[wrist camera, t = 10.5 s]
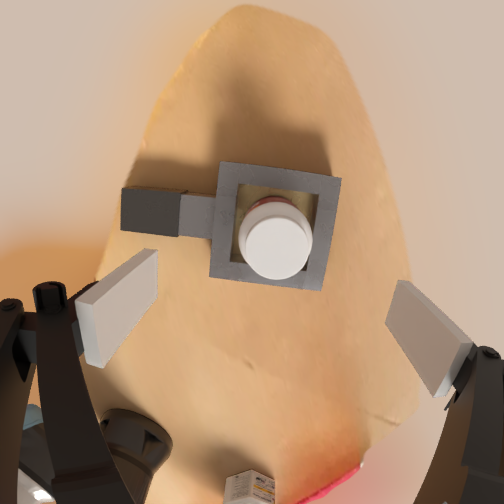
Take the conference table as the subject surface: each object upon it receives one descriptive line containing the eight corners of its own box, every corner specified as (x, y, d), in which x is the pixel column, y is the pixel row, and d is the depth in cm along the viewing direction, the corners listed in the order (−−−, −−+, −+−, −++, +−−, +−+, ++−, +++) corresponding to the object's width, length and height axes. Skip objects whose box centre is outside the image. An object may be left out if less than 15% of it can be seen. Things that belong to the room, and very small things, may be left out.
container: (275, 480, 48) (275, 527, 35) (249, 488, 50) (246, 532, 37) (252, 468, 47) (248, 519, 34) (225, 477, 48) (219, 524, 36)
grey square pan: (131, 252, 34) (116, 262, 31) (135, 156, 31) (119, 155, 27) (315, 277, 34) (321, 291, 30) (332, 176, 31) (341, 178, 27)
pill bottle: (250, 189, 30) (242, 197, 20) (307, 201, 31) (329, 215, 20) (239, 245, 32) (227, 280, 21) (294, 256, 32) (307, 296, 21)
